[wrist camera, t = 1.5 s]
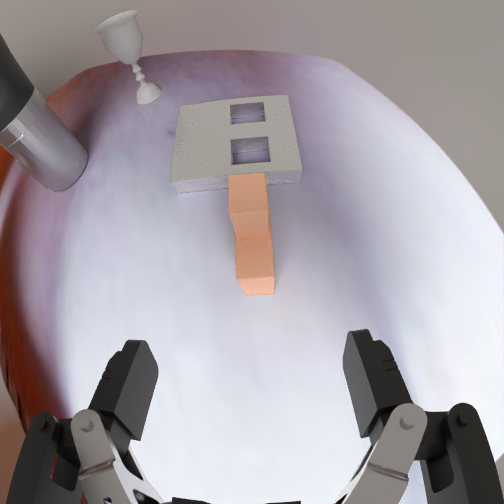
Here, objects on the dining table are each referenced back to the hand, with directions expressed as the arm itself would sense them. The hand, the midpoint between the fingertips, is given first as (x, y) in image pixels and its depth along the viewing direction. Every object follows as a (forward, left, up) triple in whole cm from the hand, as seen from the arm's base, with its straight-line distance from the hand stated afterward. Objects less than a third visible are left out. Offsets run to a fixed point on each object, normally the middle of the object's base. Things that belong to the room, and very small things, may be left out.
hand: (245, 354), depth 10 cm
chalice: (-18, +42, -20) cm, 50 cm away
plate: (-2, +26, -19) cm, 32 cm away
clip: (0, +10, -19) cm, 22 cm away
